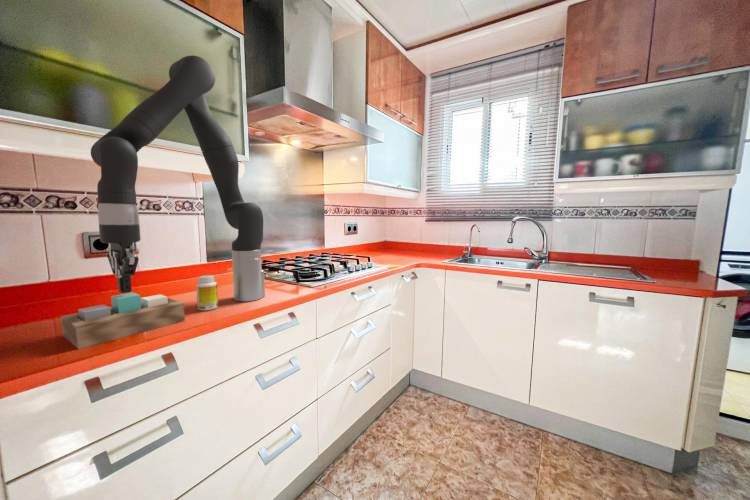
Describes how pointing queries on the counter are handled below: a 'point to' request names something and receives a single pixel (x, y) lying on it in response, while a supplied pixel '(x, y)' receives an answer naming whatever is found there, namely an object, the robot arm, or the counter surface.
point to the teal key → (125, 302)
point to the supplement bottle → (207, 293)
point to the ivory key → (154, 300)
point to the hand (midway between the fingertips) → (125, 292)
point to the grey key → (94, 312)
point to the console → (120, 324)
